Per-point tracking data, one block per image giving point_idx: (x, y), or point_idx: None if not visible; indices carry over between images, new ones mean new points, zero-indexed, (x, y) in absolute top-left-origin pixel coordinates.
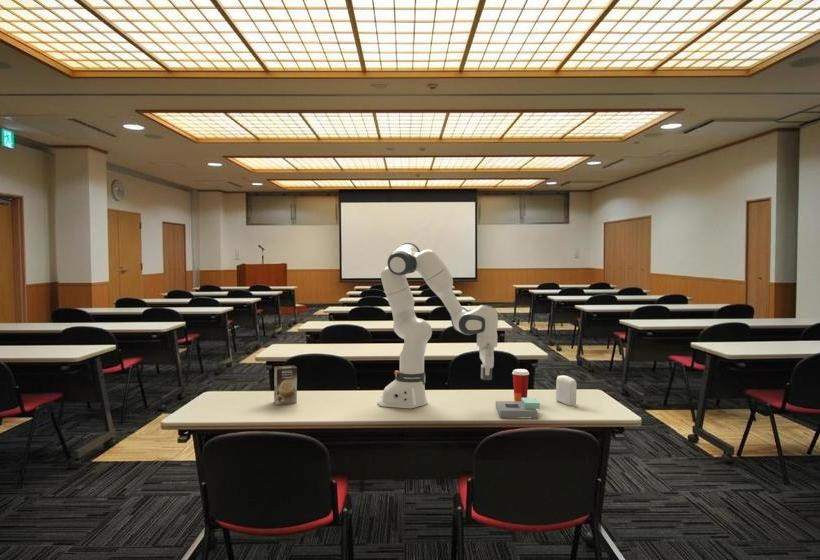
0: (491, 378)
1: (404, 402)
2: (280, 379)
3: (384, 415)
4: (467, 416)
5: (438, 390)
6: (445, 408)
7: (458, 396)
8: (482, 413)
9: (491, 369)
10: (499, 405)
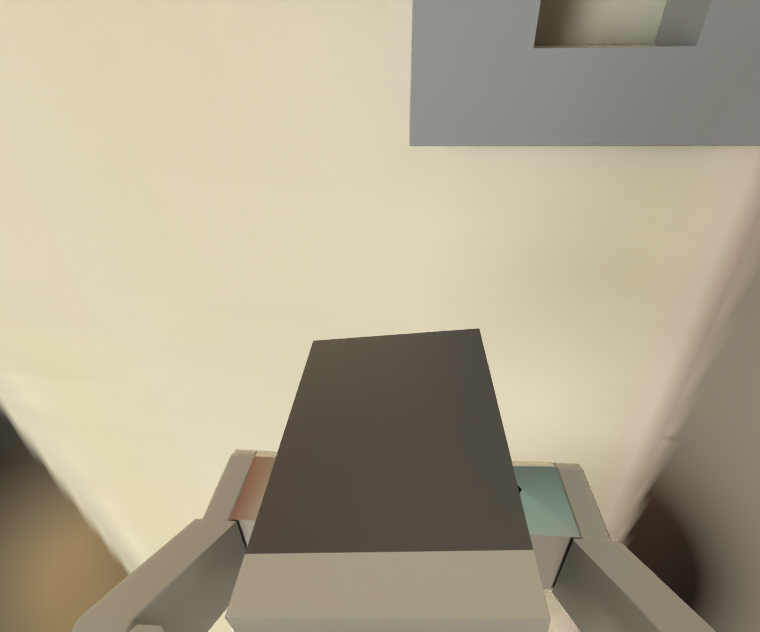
0: (482, 351)
1: None
2: None
3: None
4: (610, 363)
5: (53, 454)
6: None
7: (142, 371)
8: (562, 264)
9: (522, 521)
10: (585, 127)
